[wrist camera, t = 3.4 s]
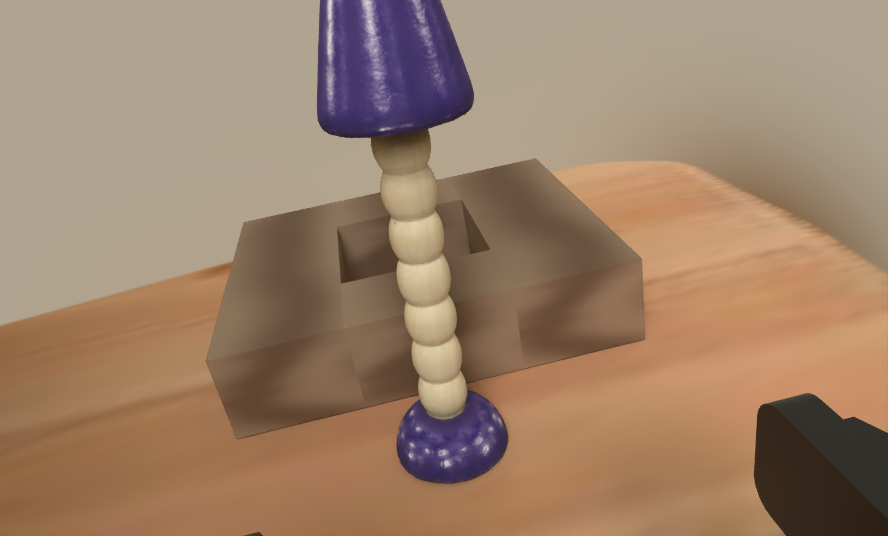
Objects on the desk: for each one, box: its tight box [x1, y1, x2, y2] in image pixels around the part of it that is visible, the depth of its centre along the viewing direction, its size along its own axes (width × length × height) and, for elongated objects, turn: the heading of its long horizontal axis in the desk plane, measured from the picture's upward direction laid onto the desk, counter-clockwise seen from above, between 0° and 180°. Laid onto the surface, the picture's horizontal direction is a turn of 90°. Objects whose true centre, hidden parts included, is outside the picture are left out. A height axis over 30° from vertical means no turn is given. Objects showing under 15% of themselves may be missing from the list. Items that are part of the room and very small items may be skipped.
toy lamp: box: [317, 0, 508, 483], centre depth 22 cm, size 5×5×17 cm
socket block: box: [206, 159, 645, 439], centre depth 34 cm, size 18×15×4 cm
